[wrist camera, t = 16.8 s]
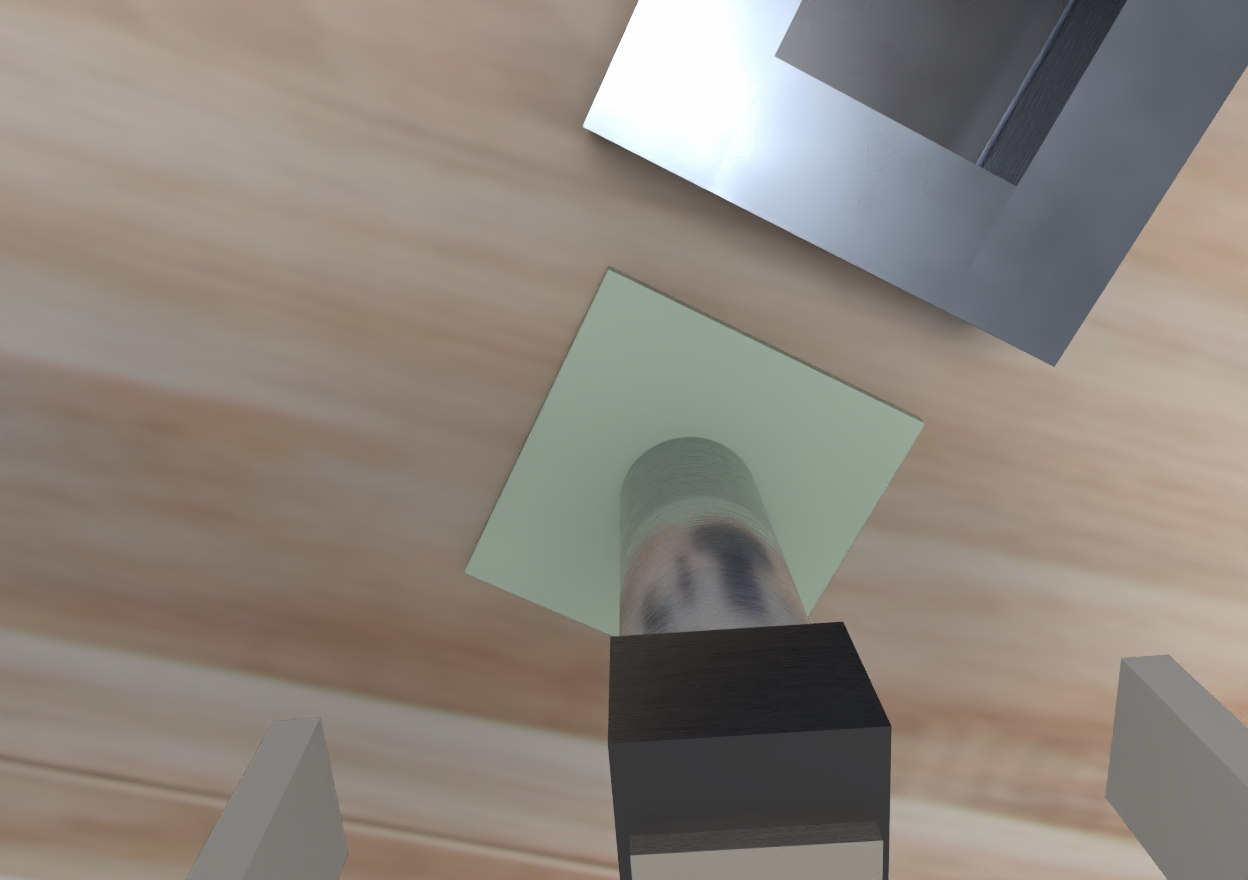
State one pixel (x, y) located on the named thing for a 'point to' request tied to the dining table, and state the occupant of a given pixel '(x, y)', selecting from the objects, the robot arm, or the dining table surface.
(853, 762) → the grey piece
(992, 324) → the block
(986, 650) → the dining table surface
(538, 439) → the pad
